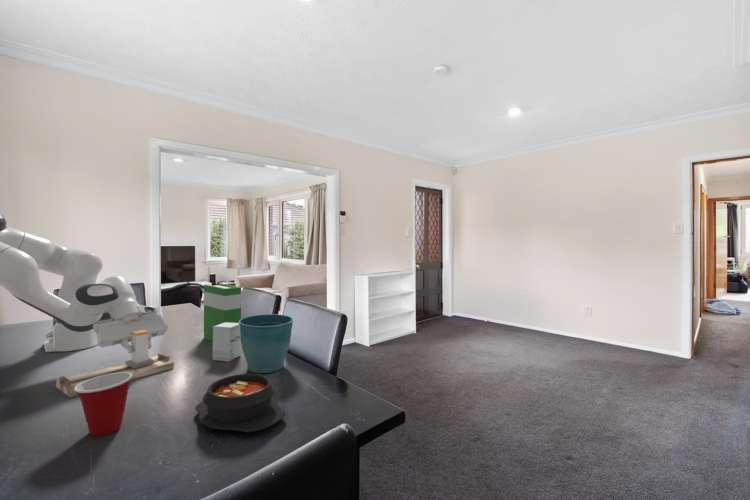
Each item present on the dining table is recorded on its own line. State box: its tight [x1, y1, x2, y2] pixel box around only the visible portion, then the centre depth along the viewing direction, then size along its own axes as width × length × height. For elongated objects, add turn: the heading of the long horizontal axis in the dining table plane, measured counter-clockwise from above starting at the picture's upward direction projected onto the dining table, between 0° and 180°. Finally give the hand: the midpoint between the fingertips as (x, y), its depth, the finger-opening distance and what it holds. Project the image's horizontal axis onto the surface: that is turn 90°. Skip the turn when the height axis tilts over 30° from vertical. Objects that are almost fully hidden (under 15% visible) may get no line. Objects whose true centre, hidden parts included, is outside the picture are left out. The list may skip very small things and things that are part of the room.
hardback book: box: [203, 282, 242, 342], centre depth 154 cm, size 18×7×24 cm, turn 52°
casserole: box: [195, 373, 286, 433], centre depth 89 cm, size 25×19×8 cm
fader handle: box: [125, 330, 154, 369], centre depth 118 cm, size 6×6×11 cm
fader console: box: [55, 352, 175, 398], centre depth 113 cm, size 12×28×4 cm, turn 146°
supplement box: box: [212, 322, 242, 362], centre depth 132 cm, size 7×7×13 cm
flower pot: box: [239, 313, 294, 374], centre depth 123 cm, size 18×18×17 cm
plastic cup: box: [74, 372, 132, 438], centre depth 82 cm, size 11×11×12 cm
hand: (140, 349), depth 117 cm, fingers closed on fader handle, 4 cm apart
